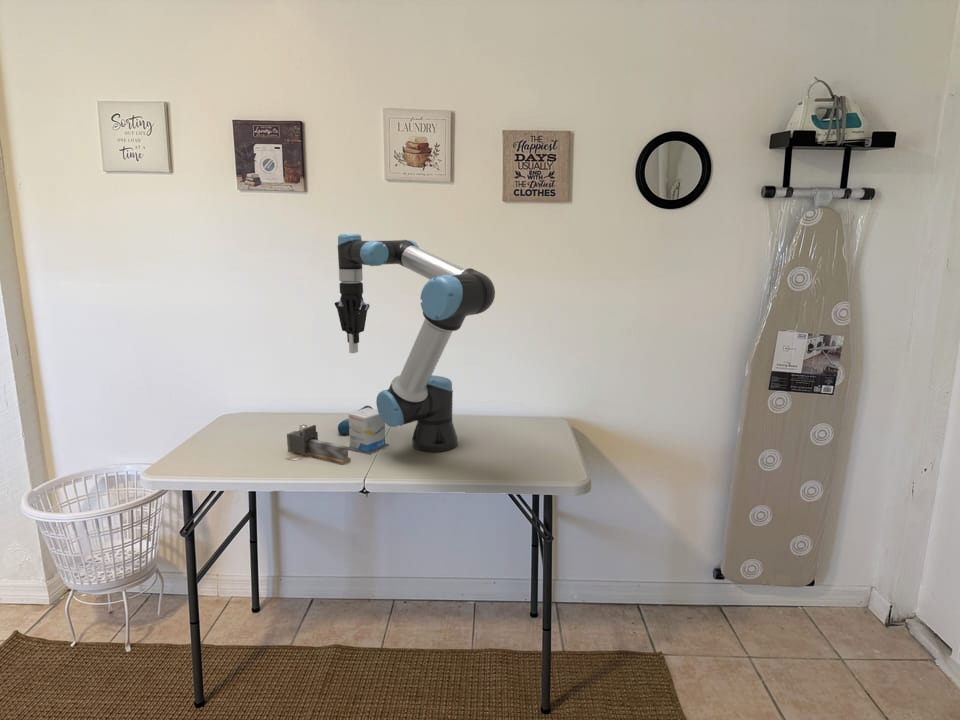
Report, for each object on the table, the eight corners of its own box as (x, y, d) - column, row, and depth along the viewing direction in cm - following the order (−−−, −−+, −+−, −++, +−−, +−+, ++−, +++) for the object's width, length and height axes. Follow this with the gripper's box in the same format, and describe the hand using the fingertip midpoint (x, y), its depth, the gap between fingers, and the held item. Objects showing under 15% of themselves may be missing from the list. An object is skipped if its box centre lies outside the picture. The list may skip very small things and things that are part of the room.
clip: (318, 447, 196) (317, 424, 195) (305, 453, 191) (303, 430, 189) (304, 444, 199) (302, 421, 197) (290, 450, 194) (289, 427, 192)
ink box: (386, 445, 202) (385, 411, 199) (366, 452, 195) (365, 417, 193) (368, 439, 207) (367, 406, 204) (349, 446, 200) (347, 412, 198)
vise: (350, 460, 189) (349, 442, 188) (332, 470, 182) (331, 451, 181) (296, 448, 199) (295, 430, 198) (276, 456, 192) (275, 438, 191)
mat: (388, 444, 203) (388, 444, 203) (370, 454, 195) (370, 453, 194) (364, 439, 208) (364, 438, 208) (345, 449, 199) (345, 448, 199)
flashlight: (374, 418, 231) (374, 405, 230) (348, 437, 210) (348, 423, 209) (362, 417, 232) (361, 404, 231) (335, 436, 212) (334, 422, 211)
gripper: (374, 282, 200) (376, 352, 206) (343, 280, 206) (345, 348, 211) (359, 283, 194) (362, 356, 199) (327, 281, 200) (331, 352, 205)
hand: (353, 352), depth 205 cm, fingers closed
